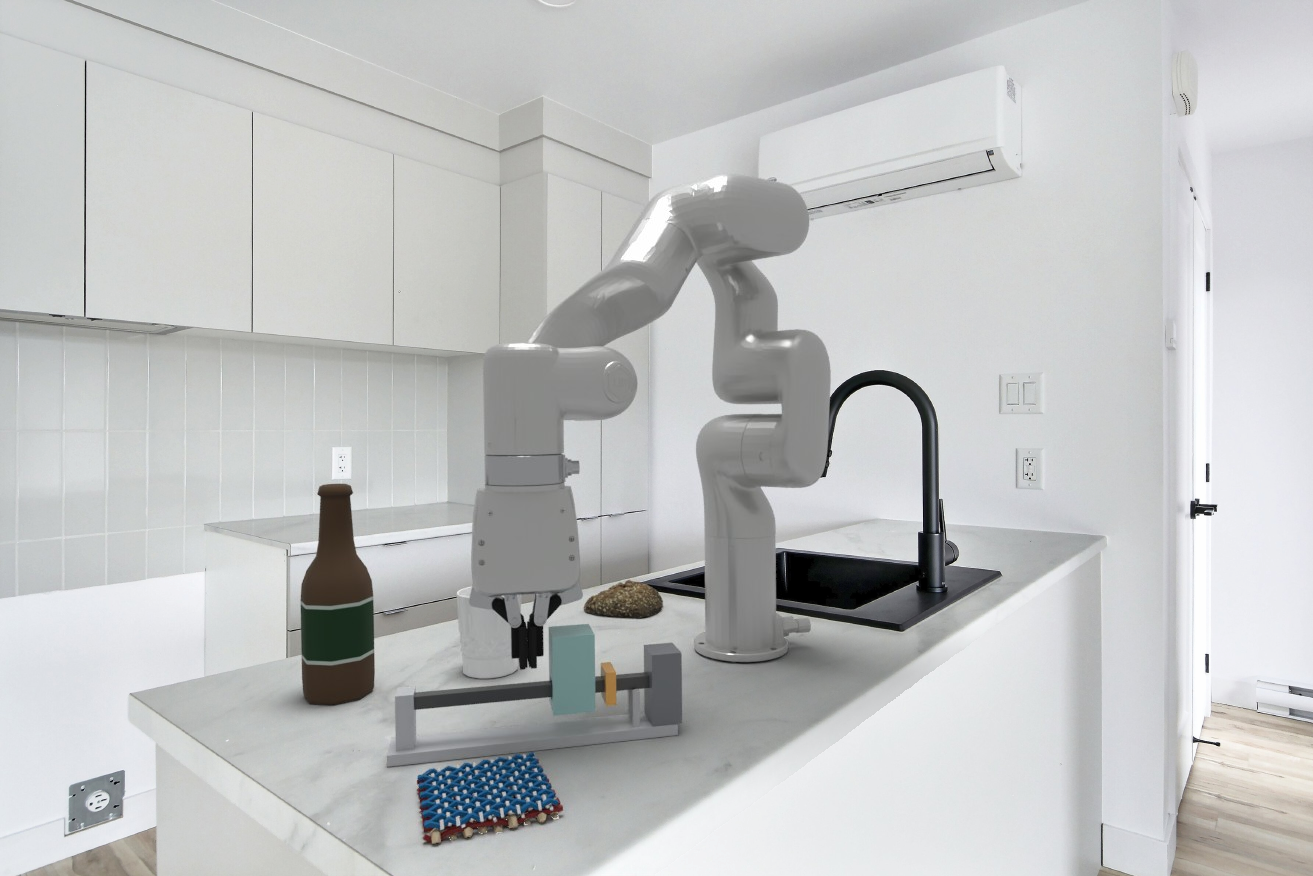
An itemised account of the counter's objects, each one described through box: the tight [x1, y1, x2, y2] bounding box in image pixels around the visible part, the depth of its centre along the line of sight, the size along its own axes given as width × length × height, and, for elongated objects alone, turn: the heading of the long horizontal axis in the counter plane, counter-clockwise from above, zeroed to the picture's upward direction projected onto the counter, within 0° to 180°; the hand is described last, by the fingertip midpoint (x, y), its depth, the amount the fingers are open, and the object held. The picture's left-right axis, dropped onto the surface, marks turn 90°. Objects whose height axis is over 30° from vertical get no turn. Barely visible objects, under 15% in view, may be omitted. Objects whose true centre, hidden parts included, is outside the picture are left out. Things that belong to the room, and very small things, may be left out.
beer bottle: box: [299, 483, 376, 706], centre depth 86 cm, size 8×8×24 cm
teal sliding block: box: [548, 623, 597, 717], centre depth 73 cm, size 4×4×7 cm
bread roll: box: [583, 579, 664, 619], centre depth 125 cm, size 13×12×5 cm
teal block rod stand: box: [386, 642, 683, 768], centre depth 73 cm, size 28×4×8 cm, turn 103°
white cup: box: [456, 585, 522, 680], centre depth 94 cm, size 8×8×10 cm
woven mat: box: [416, 751, 564, 845], centre depth 61 cm, size 10×11×2 cm
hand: (527, 664), depth 72 cm, fingers closed
